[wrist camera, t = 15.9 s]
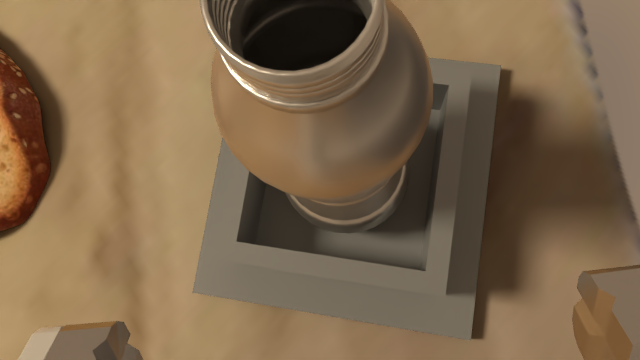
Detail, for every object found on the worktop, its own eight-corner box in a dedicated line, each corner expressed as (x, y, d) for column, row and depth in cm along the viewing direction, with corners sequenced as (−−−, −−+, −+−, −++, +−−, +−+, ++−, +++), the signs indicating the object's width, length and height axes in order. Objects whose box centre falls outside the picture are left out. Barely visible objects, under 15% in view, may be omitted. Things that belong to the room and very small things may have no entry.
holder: (468, 338, 29) (485, 350, 24) (197, 292, 31) (164, 294, 26) (497, 70, 31) (519, 33, 26) (245, 43, 33) (222, 4, 28)
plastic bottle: (356, 97, 31) (318, -221, 11) (432, 190, 29) (539, 13, 10) (265, 165, 31) (65, -36, 11) (337, 262, 29) (253, 229, 10)
